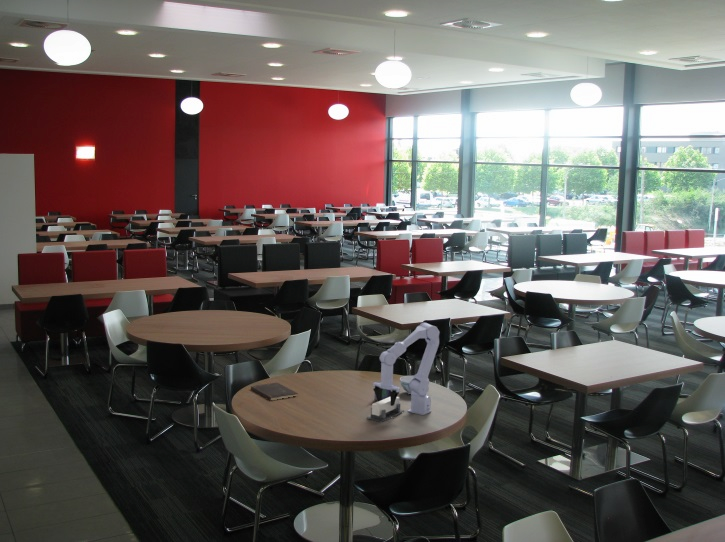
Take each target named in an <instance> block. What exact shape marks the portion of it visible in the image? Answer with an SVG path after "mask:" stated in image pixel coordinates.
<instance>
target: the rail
mask: <svg viewBox="0 0 725 542" xmlns="http://www.w3.org/2000/svg"><path fill="white" fill-rule="evenodd" d="M400 399H401V398H400V396H397V398H396V400H395V404H394V405H393V406H391V397H388V398H386V399H383V400H381V401H376V402H374V403H372V404H371V407H372V414H373V415H377V416H380V415H382V410H384V409H385V410H386V413H387V412H389V411H391V410H393V409H396V408H397V404H398V403H400V401H401V400H400Z"/></svg>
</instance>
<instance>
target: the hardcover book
mask: <svg viewBox="0 0 725 542" xmlns="http://www.w3.org/2000/svg"><path fill="white" fill-rule="evenodd" d="M250 390H251V391H253V392H254V393H256V394H258V395H259V394H260V395H259V396H261V397H263V398H265V399H266V398H267V400H268V401H270V402H271V400H272V401H277V399H278V400H283V399H282V398H284V399H289V398H288V397H290V398H294V397H293V396H296V397H298V394H299V393H298V392H296V390H292V389H291V388H288V387H287V386H285V385H283V384H281V383H280V382H271V383H263V384H259V385H258V384H257V385H251V386H250Z"/></svg>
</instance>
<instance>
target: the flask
mask: <svg viewBox="0 0 725 542" xmlns="http://www.w3.org/2000/svg"><path fill="white" fill-rule="evenodd" d="M391 391H392V390H387V389H383V390H382V399H381V400H383V399H386V398H388V397H390V392H391ZM373 399H374V401H376V400H377V397H376V394H375V393H374V397H373Z"/></svg>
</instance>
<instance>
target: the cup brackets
mask: <svg viewBox="0 0 725 542" xmlns="http://www.w3.org/2000/svg"><path fill="white" fill-rule="evenodd" d="M402 412H403V413H404V412H405V410H402V409H401V403H400V402H399V403H398V404H397V408H396V409H393V410H391V411H389V412H387V413H386V410H385V409H384V410H382V415H380V416H377V415H373V414H372V406H371V407H370V414H369V415H368V416H366V419H368V420H371V421H373V422H378V423H383V422H385V421H387V420H389V418H390V419H391V417H392V418H393V416H394V417H396V416H398V415H400V413H401V414H403V413H402Z"/></svg>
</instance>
